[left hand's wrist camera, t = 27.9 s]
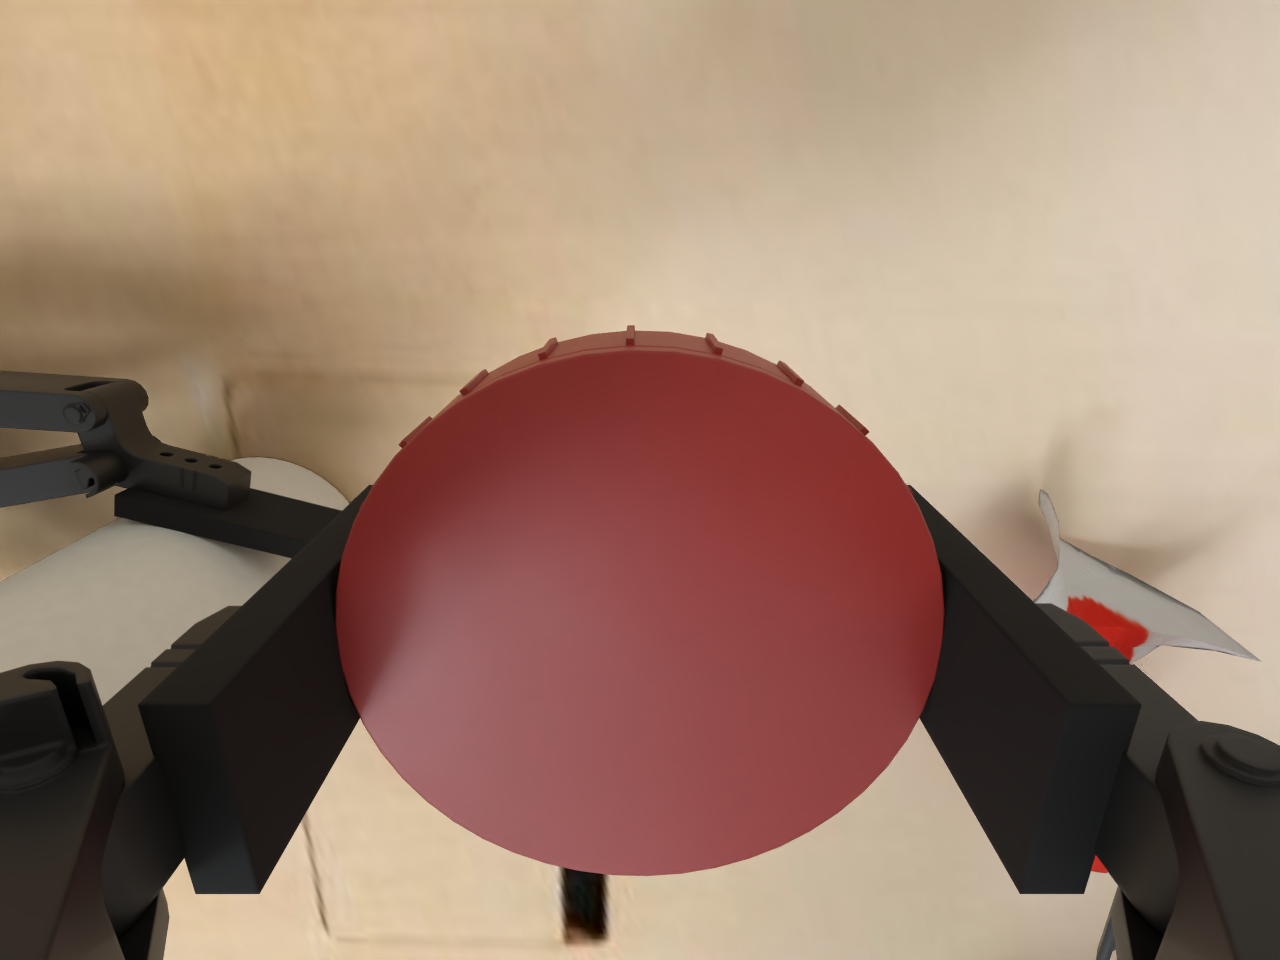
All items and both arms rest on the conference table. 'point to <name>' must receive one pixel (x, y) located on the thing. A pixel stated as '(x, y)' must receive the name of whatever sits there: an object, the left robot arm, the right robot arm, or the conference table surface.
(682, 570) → the lid
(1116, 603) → the fish
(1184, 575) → the conference table surface
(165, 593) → the jar
